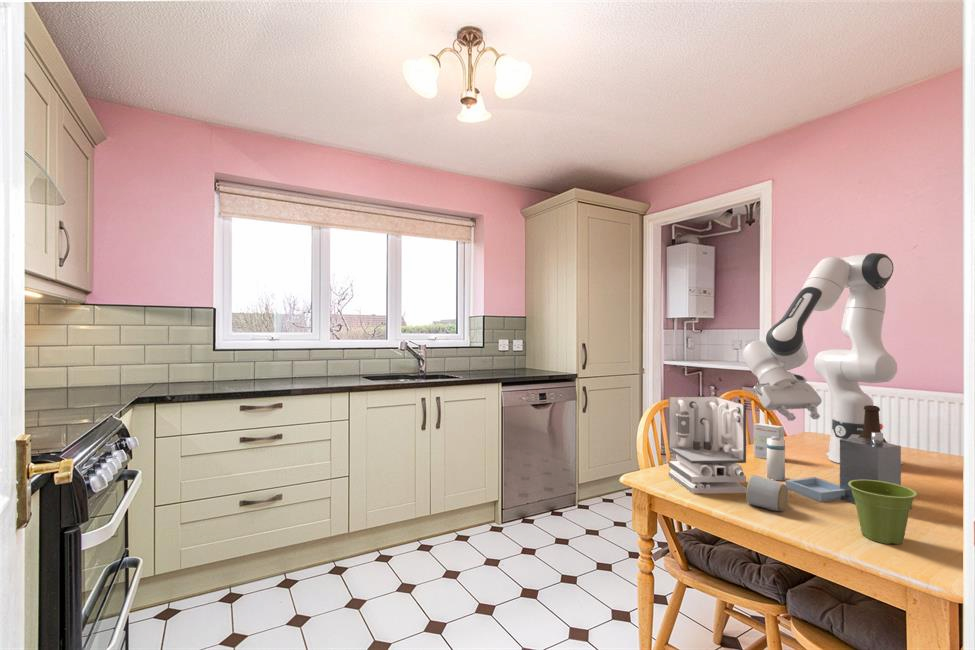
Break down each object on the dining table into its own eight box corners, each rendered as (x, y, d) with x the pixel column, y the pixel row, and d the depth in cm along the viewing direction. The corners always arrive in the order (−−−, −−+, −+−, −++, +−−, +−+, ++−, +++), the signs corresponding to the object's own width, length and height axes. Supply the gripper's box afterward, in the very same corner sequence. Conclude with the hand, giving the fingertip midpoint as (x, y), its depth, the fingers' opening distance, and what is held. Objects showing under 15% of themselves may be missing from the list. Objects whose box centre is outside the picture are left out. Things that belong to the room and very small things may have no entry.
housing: (860, 492, 137) (860, 425, 137) (911, 508, 124) (911, 435, 124) (830, 495, 134) (830, 427, 134) (879, 513, 121) (879, 438, 121)
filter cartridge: (775, 475, 152) (775, 434, 152) (789, 480, 148) (788, 438, 148) (763, 476, 151) (762, 435, 151) (776, 481, 146) (776, 439, 146)
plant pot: (844, 523, 115) (844, 476, 115) (909, 534, 109) (909, 484, 109) (852, 542, 105) (852, 490, 105) (923, 555, 99) (923, 500, 99)
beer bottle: (857, 482, 146) (857, 402, 146) (890, 488, 140) (890, 406, 140) (852, 488, 140) (852, 405, 140) (887, 495, 135) (887, 409, 135)
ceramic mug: (781, 516, 120) (781, 485, 120) (745, 507, 126) (745, 477, 126) (793, 506, 127) (793, 476, 127) (759, 497, 133) (759, 470, 133)
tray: (815, 485, 143) (815, 477, 143) (852, 498, 132) (852, 489, 132) (785, 488, 140) (785, 480, 140) (821, 502, 129) (821, 492, 129)
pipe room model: (717, 475, 152) (717, 396, 152) (753, 497, 133) (753, 406, 133) (668, 476, 151) (668, 396, 152) (697, 498, 132) (697, 407, 132)
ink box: (784, 459, 171) (784, 426, 171) (779, 462, 167) (779, 427, 167) (758, 454, 177) (758, 422, 177) (753, 457, 174) (753, 424, 174)
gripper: (757, 377, 152) (783, 414, 142) (808, 376, 157) (837, 411, 148) (746, 390, 156) (771, 426, 147) (796, 388, 162) (823, 423, 152)
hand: (804, 418), depth 147 cm, fingers open, 8 cm apart
